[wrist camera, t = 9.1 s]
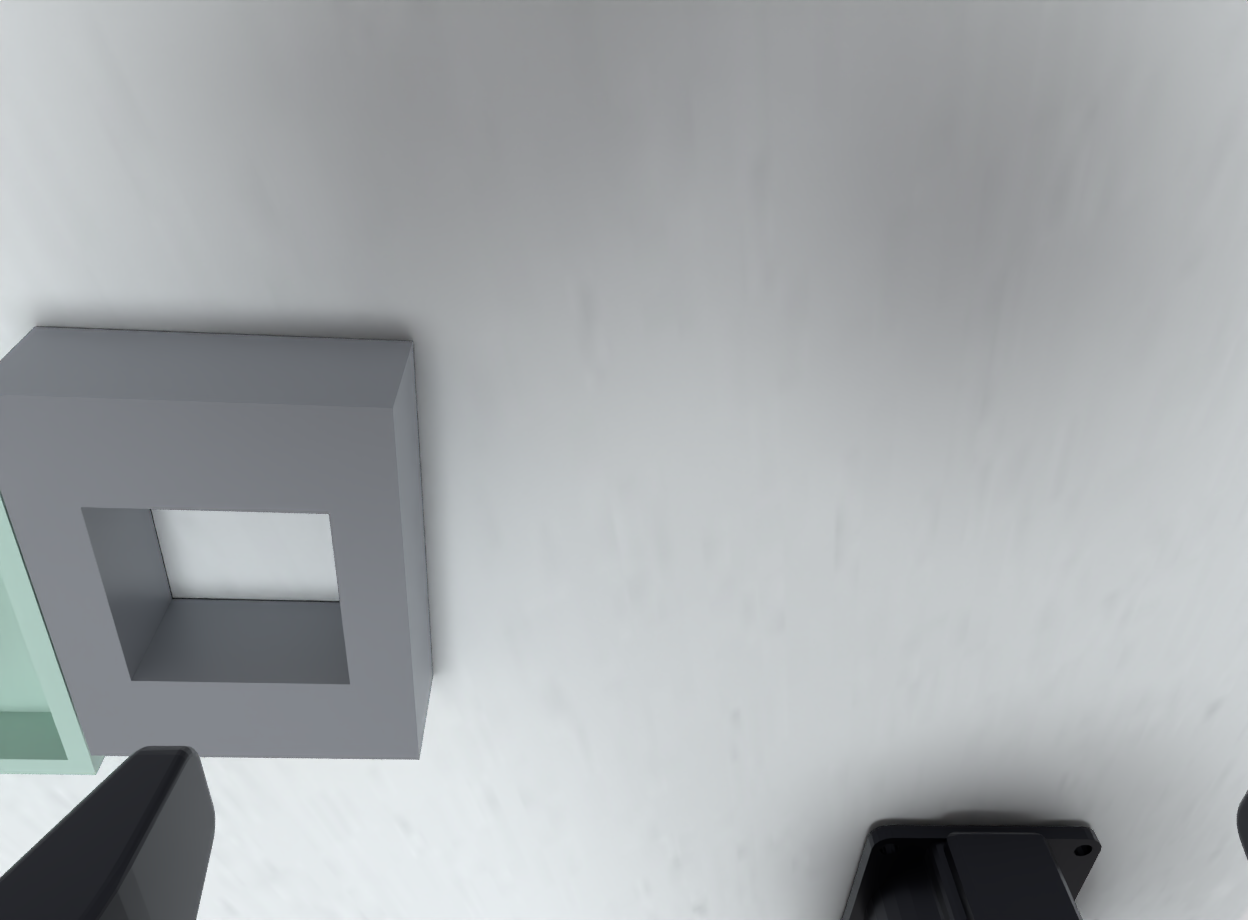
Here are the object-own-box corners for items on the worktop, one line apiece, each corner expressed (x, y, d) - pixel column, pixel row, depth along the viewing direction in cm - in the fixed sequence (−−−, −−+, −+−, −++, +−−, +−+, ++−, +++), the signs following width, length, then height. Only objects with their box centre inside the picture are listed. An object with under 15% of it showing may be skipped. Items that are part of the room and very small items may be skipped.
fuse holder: (433, 679, 24) (419, 762, 22) (134, 674, 24) (92, 758, 22) (412, 340, 19) (392, 407, 17) (34, 326, 19) (-33, 393, 17)
